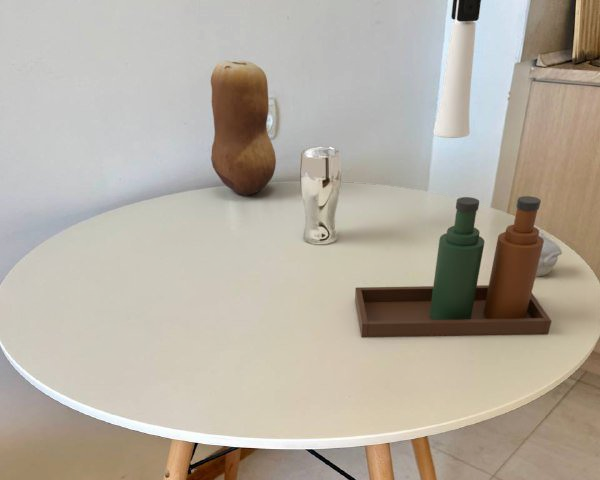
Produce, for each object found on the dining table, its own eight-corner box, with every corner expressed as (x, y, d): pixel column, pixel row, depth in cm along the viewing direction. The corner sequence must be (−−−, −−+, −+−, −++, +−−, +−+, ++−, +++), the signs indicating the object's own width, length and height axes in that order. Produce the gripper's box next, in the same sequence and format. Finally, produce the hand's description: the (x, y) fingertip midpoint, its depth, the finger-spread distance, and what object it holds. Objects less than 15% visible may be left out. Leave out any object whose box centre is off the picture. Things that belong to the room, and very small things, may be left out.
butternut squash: (289, 190, 130) (285, 59, 115) (247, 206, 121) (238, 68, 106) (243, 178, 137) (234, 54, 122) (201, 193, 129) (185, 62, 114)
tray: (522, 301, 87) (526, 284, 85) (546, 339, 78) (552, 320, 76) (354, 304, 87) (355, 287, 85) (361, 342, 78) (362, 323, 77)
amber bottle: (518, 305, 84) (544, 191, 75) (530, 324, 80) (560, 206, 70) (479, 305, 84) (500, 192, 75) (489, 325, 80) (513, 207, 70)
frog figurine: (508, 265, 97) (517, 224, 92) (554, 270, 95) (565, 227, 91) (508, 281, 92) (518, 238, 88) (556, 286, 90) (568, 242, 86)
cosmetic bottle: (438, 129, 104) (454, -25, 91) (473, 131, 102) (494, -26, 89) (428, 136, 100) (443, -24, 87) (464, 139, 98) (485, -25, 85)
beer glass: (322, 248, 103) (322, 159, 94) (293, 239, 107) (291, 152, 98) (347, 237, 107) (350, 150, 98) (318, 228, 111) (318, 143, 102)
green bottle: (465, 306, 84) (485, 192, 75) (475, 325, 80) (497, 207, 70) (426, 306, 84) (440, 193, 75) (433, 326, 80) (450, 208, 70)
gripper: (529, -151, 74) (503, 23, 85) (494, -133, 87) (475, 15, 98) (469, -149, 74) (451, 25, 85) (443, -132, 87) (430, 17, 98)
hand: (464, 18), depth 91 cm, fingers closed on cosmetic bottle, 3 cm apart
